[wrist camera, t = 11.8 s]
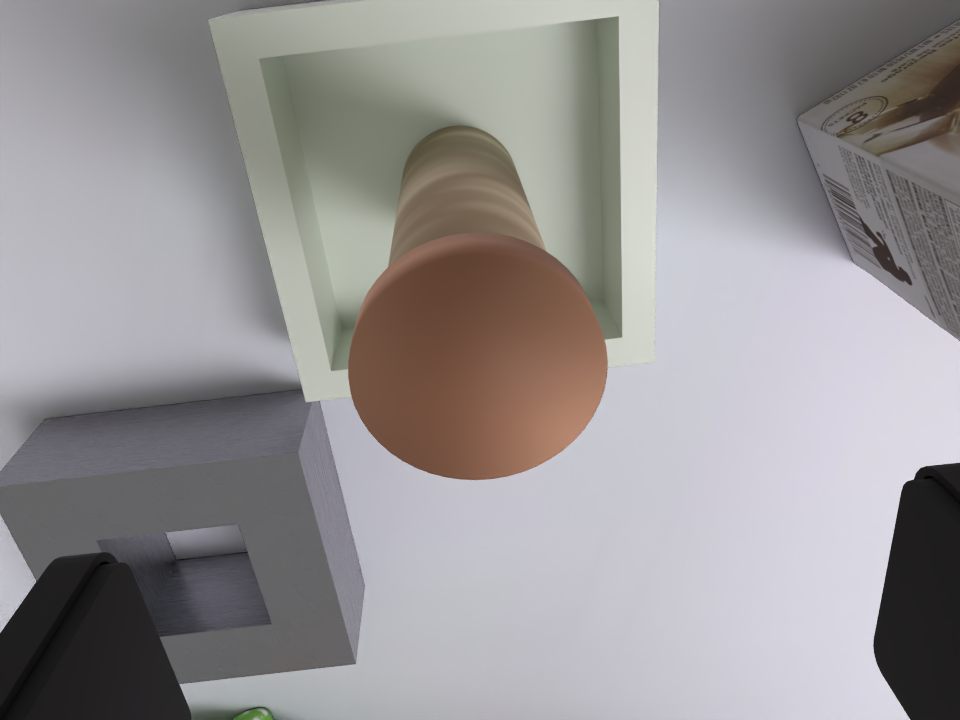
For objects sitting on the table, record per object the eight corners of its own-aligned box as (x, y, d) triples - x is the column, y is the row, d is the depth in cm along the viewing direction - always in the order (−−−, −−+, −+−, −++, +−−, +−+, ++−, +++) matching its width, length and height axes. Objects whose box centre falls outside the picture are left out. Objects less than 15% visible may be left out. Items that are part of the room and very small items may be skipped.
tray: (626, -36, 21) (659, -34, 18) (628, 314, 26) (654, 362, 23) (241, 10, 21) (207, 19, 18) (321, 350, 26) (305, 402, 23)
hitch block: (316, 387, 27) (298, 452, 23) (364, 585, 32) (355, 663, 28) (44, 419, 27) (-14, 487, 24) (134, 612, 32) (96, 693, 28)
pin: (524, 103, 22) (604, 237, 11) (534, 243, 24) (610, 464, 14) (377, 121, 22) (323, 270, 11) (401, 259, 24) (373, 492, 14)
